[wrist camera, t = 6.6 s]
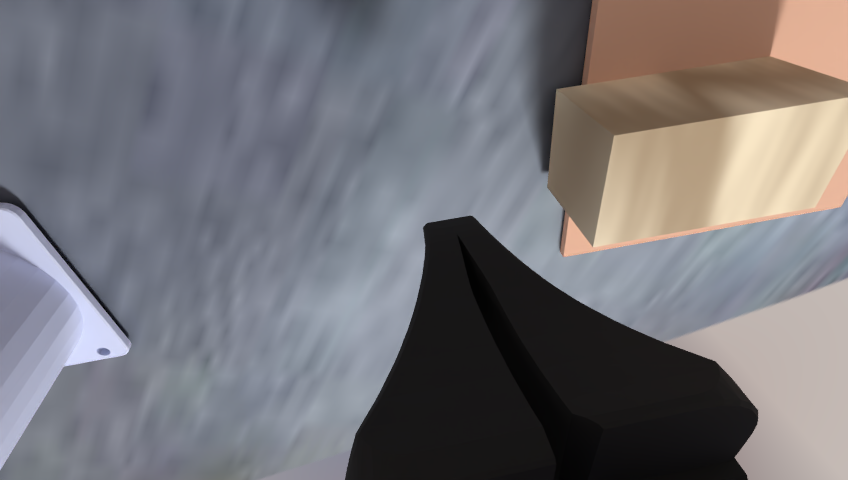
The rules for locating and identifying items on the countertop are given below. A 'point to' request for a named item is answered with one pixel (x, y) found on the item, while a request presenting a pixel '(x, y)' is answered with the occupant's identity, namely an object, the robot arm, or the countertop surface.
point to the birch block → (695, 147)
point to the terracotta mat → (713, 59)
